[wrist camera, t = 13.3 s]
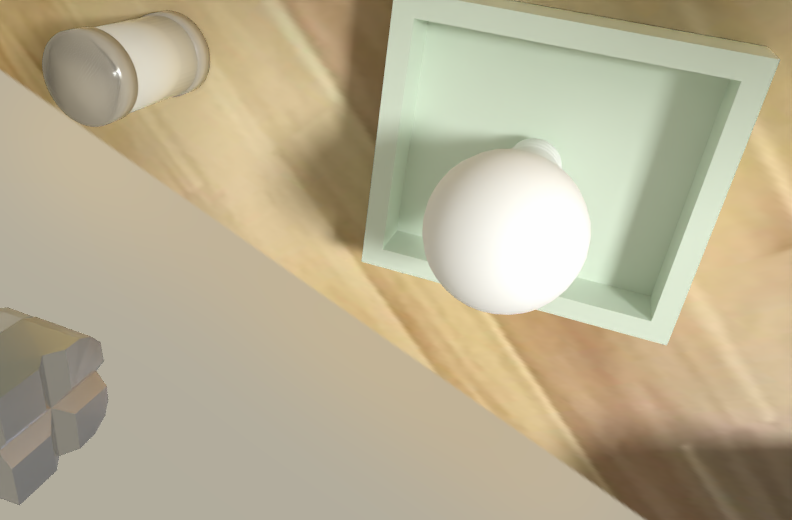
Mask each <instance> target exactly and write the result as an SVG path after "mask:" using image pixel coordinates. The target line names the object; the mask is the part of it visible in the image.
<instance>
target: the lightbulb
mask: <svg viewBox="0 0 792 520" xmlns="http://www.w3.org/2000/svg"><path fill="white" fill-rule="evenodd" d="M422 236H423V243H424V251H425V255H426V258H427V261H428V264H429V266H430V268H431V270H432V272H433V273H434V275H435V277H436V278H437V280H438V281H439V282H440V283H441V284H442V286H443V287H444V288H445V289H446V290H447V291H448V292H449V293H450V294H451V295H453V296H454V297H455V298H456V299H457V300H459V301H461V302H462V303H464V304H466V305H467V306H469V307H472V308H474V309H477V310H480V311H483V312H488V313H492V314H505V315H512V314H520V313H526V312H529V311H533V310H536V309H539V308H541V307H543V306H544V305H546V304H548V303H550V302H552V301H553V300H554V299H556V298H557V297H558V296H559V295H561V294H562V293H563V292H564V291H566V290H567V289H568V287H569V286H570V285H571V284H572V282H573V281H574V280H575V278H576V277H577V276H578V274H579V273H580V271H581V269H582V267H583V265H584V263H585V260H586V258H587V253H588V249H589V244H590V238H591V222H590V218H589V214H588V210H587V206H586V203H585V201H584V199H583V197H582V194H581V192H580V190H579V188H578V186H577V185H576V184H575V183H574V181H573V180H572V179H571V177H570V176H569V175H568V174H567V173H566V172H565V171H564V170H562V161H561V157H560V155H559V153H558V151H557V150H556V148H555V147H554V146H553V145H552V144H550V143H549V142H547V141H545V140H542V139H537V138H529V139H525V140H522V141H520V142H518V143H517V144H516V145H515V146H514V147H513V148H511V149H494V150H490V151H485V152H481V153H479V154H477V155H475V156H472V157H470V158H468V159H466V160H464V161H462V162H460V163H459V164H457V165H456V166H455V167H453V168H452V169H451V170H449V171H448V173H447V174H446V175H445V176H444V177H443V178H442V179H441V180H440V182H439V183H438V184H437V186H436V187H435V189H434V191H433V193H432V194H431V196H430V198H429V200H428V203H427V207H426V210H425V214H424V218H423V229H422Z"/></svg>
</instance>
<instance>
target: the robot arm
mask: <svg viewBox="0 0 792 520" xmlns="http://www.w3.org/2000/svg"><path fill="white" fill-rule="evenodd" d="M103 362H104V360H103V354H102V349H101V343H100V342H99V341H97V340H96V339H94V338H92V337H91V336H88V335H85V334H82V333H79V332H77V331H74V330H71V329H68V328H66V327H63V326H60V325H57V324H54V323H51V322H49V321H46V320H43V319H40V318H38V317H33V316H30V315H27V314H24V313H22V312H19V311H16V310H13V309H10V308H0V498H1V499H4V500H7V501H9V502H12V503H15V504H18V505H20V504H21V503H23V502H24V501H25V500H26V499H27V498H28V497H29V496H30V495H31V494H32V493H33V492H34V491H35V490H36V489H38V488H39V487H40V486H41V485H42V484H43V483H44V482H45V481H46V480H47V479H48V478H49V477H50V476H51V475H53V474H54V472H56V470H57V465H58V460H59V456H60V455H63V454H66V453H69V452H72V451H74V450H77V449H80V448H81V447H82V446H83V445H84V444H85V443H86V442H87V441H88V440H89V439H90V438H91V437H92V436H93V435H94V434H95V433H96V431H97V429H98V427H99V425H100V424H101V422H102V420H103V418H104V416H105V413H106V408H107V403H108V394H107V386H106V384H105V383H104V381H103V380H102V379H101V377H100V375H99V374H98V373H97V371H96V370H97V369H98V368H99V367H100V365H101V364H102V363H103Z"/></svg>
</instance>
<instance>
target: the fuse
mask: <svg viewBox="0 0 792 520" xmlns="http://www.w3.org/2000/svg"><path fill="white" fill-rule="evenodd" d="M209 67H210V54H209V48H208V45H207V42H206V40H205V38H204V36H203V34H202V32H201V31H200V29H199V28H198V27H197V26H196V24H195V23H194V22H193V21H192V20H190V19H189V18H188V17H186V16H184V15H183V14H180V13H178V12H174V11H161V12H156V13H151V14H147V15H144V16H143V17H141V18H137V19H132V20H127V21H122V22H117V23H112V24H107V25H102V26H97V27H80V28H75V29H70V30H65V31H61V32H59V33H57V34H55V35H54V36H53V37H52V38H51V39H50V40H49V42H48V43H47V45H46V47H45V50H44V53H43V59H42V68H43V75H44V79H45V83H46V86H47V88H48V90H49V92H50V95H51V96H52V98H53V100H54V101H55V102H56V104H57V105H58V106H59V108H60V109H61V110H62V111H63V112H64V113H65V114H66V115H68V116H69V117H70V118H71V119H73V120H75V121H76V122H78V123H81V124H83V125H86V126H91V127H99V126H104V125H107V124H109V123H112V122H114V121H117V120H120V119H122V118H124V117H125V116H126V115H128V114H129V113H131V112H134V111H136V110H139V109H142V108H144V107H147V106H149V105H152V104H155V103H157V102H160V101H162V100H165V99H168V98H170V97H177V96H181V95H184V94H186V93H189V92H191V91H194V90H195V89H197V88H198V87H200V86H201V85H202V84H203V82H204V81H205V79H206V77H207V75H208V72H209Z"/></svg>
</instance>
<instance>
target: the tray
mask: <svg viewBox="0 0 792 520" xmlns="http://www.w3.org/2000/svg"><path fill="white" fill-rule="evenodd" d="M779 61H780V59H779V58H778V57H777V56H776V55H775V54H774V53H773V52H772V51H771V50H770V49H769V48H768V47H767V46H762V45H756V44H751V43H745V42H740V41H734V40H729V39H723V38H718V37H712V36H707V35H701V34H696V33H690V32H684V31H679V30H673V29H668V28H662V27H657V26H651V25H646V24H640V23H635V22H629V21H624V20H618V19H613V18H607V17H602V16H596V15H590V14H585V13H579V12H574V11H568V10H563V9H557V8H552V7H546V6H541V5H535V4H530V3H524V2H519V1H513V0H393V6H392V14H391V23H390V31H389V39H388V47H387V56H386V64H385V72H384V80H383V88H382V97H381V105H380V113H379V121H378V130H377V138H376V146H375V154H374V163H373V171H372V179H371V187H370V196H369V204H368V212H367V220H366V229H365V237H364V245H363V253H362V262H365V263H368V264H372V265H376V266H379V267H383V268H387V269H390V270H394V271H398V272H401V273H405V274H409V275H412V276H416V277H419V278H423V279H427V280H430V281H434V282H438V283H440V282H439V281H438V280H437V278H436V277H435V275H434V273H433V272H432V270H431V268H430V266H429V264H428V261H427V258H426V255H425V251H424V243H423V236H422V229H423V218H424V214H425V210H426V207H427V203H428V200H429V198H430V196H431V194H432V193H433V191H434V189H435V187H436V186H437V184H438V183H439V182H440V180H441V179H442V178H443V177H444V176H445V175H446V174H447V173H448V171H449V170H451V169H452V168H453V167H455V166H456V165H457V164H459V163H460V162H462V161H464V160H466V159H468V158H470V157H472V156H475V155H477V154H479V153H481V152H485V151H490V150H494V149H511V148H513V147H514V146H515V145H516V144H517V143H518V142H520V141H522V140H525V139H529V138H537V139H542V140H545V141H547V142H549V143H550V144H552V145H553V146H554V147H555V148H556V150H557V151H558V153H559V155H560V157H561V161H562V170H564V171H565V172H566V173H567V174H568V175H569V176H570V177H571V179H572V180H573V181H574V183H575V184H576V185H577V186H578V188H579V190H580V192H581V194H582V197H583V199H584V201H585V203H586V206H587V210H588V214H589V218H590V222H591V238H590V244H589V249H588V253H587V258H586V260H585V263H584V265H583V267H582V269H581V271H580V273H579V274H578V276H577V277H576V278H575V280H574V281H573V282H572V284H571V285H570V286H569V287H568V289H567V290H566V291H564V292H563V293H562V294H561V295H559V296H558V297H557V298H556V299H554V300H553V301H552V302H550V303H548V304H546V305H544V306H543V307H541V308H539V309H536V310H540V311H543V312H547V313H551V314H554V315H558V316H562V317H565V318H569V319H573V320H576V321H580V322H584V323H587V324H591V325H594V326H598V327H602V328H605V329H609V330H613V331H616V332H620V333H624V334H627V335H631V336H635V337H638V338H642V339H646V340H649V341H653V342H656V343H660V344H664V345H667V344H668V342H669V339H670V336H671V334H672V331H673V329H674V326H675V324H676V321H677V319H678V316H679V314H680V311H681V309H682V306H683V304H684V301H685V299H686V296H687V294H688V291H689V289H690V286H691V283H692V281H693V278H694V276H695V273H696V271H697V268H698V266H699V263H700V261H701V258H702V256H703V253H704V251H705V248H706V246H707V243H708V241H709V238H710V236H711V233H712V230H713V228H714V225H715V223H716V220H717V218H718V215H719V213H720V210H721V208H722V205H723V203H724V200H725V198H726V195H727V193H728V190H729V188H730V185H731V183H732V180H733V178H734V175H735V172H736V170H737V167H738V165H739V162H740V160H741V157H742V155H743V152H744V150H745V147H746V145H747V142H748V140H749V137H750V135H751V132H752V130H753V127H754V125H755V122H756V119H757V117H758V114H759V112H760V109H761V107H762V104H763V102H764V99H765V97H766V94H767V92H768V89H769V87H770V84H771V82H772V79H773V77H774V74H775V72H776V69H777V66H778V64H779Z"/></svg>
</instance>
